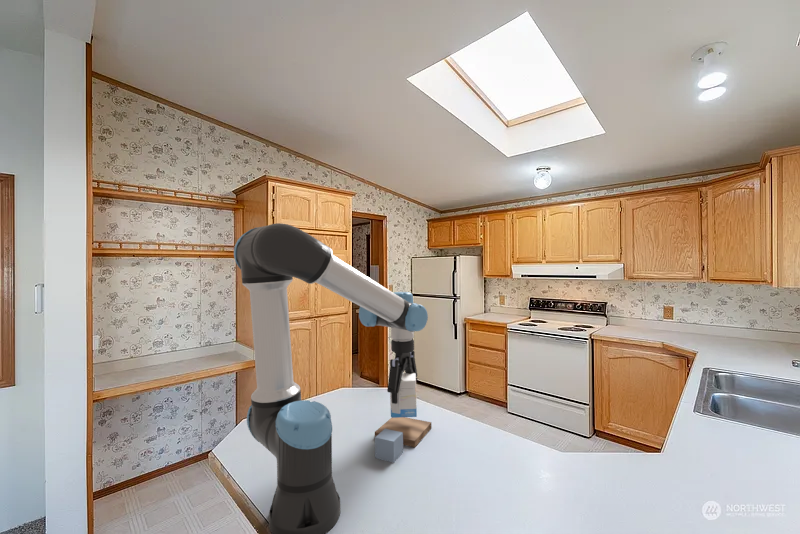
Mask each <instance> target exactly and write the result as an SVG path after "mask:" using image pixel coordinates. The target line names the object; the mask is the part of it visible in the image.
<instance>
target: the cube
mask: <svg viewBox="0 0 800 534" xmlns="http://www.w3.org/2000/svg"><path fill="white" fill-rule="evenodd" d="M403 454H404V445H403V432H399V431H394V430H389V429H384V430H383V431H382V432H380V433H379V434H378V435H377V436H376V437H375V436H374V458H375V459H377V460H382V461H386V462H389V463H395V462H396V461H397V460H398V459H399V458H400V456H401V455H403Z"/></svg>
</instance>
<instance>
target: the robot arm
mask: <svg viewBox="0 0 800 534" xmlns="http://www.w3.org/2000/svg"><path fill="white" fill-rule="evenodd" d="M233 257H234V260H235V261H234V262H235V264H236V266H237V267H238V268H239V269H240V273H241V284H242V286H244V287H245V288H246V290H248V291H249V300H250V311H251V324H252V325H251V326H252V327H251V328H252V336H253V337H252V339H253V349H254V350H253V351H254V352H253V354H254V364H255V377H256V378H255V379H256V380H255V381H256V389H255V390H254V391H253V392H252V393H251V396H250V401H251V403H250V404H251V405H250V406H249V407H248V410H247V414H246V425H247V428H248V431H249V433H250V434H251V436H252V437H253V438H254V439H255V440H256V442H258V443H260V444H261V445H262V446H263V447H265V448H266V450H268V451H269V452H270V454H272V455H273V456H274V457H275V458H276V484H277V485H276V488H275V491H274V495H273V498H272V501H271V505H270V507H269V513H268V527H269V531H270V532H271V534H326V533H327V532H328V531H330V530H331V529H332V528H333V527H334V526H335V525H336V523H337V522H338V520H339V519H340V516H341V499H340V494H339V492H338V491H337V488H336V485H335V481H334V478H333V457H332V456H333V445H332V444H333V443H332V442H333V439H332V438H333V437H332V436H333V434H332V433H333V423H332V415H331V412H330V410H329V408H328V407H327V405H326V406H325V404H322V403H321V402H318V401H315V400H313V401H310V400H307V399H306V400H304V399H303V400H302V394H301V391H302V390H301V389H302V388H301V386H300V385H299V384H298V383H297V382H295V381H294V371H293V368H294V367H293V356H292V355H293V353H292V343H291V341H292V340H291V326H290V325H291V324H290V314H289V297H288V286H289V285H290V284H291V283H292V282H293V281H294V280H293V278H295V279H299V280H301V281H303V282H305V283H306V284H307V285H308V284H309V285H312V284H318V285H320V286H322V287H324V288H326V289H328V290H329V291H331V292H332V293H335V294H337V295H338V296H340V297H342V298H344V299H346V300H348V301H349V302H351V303H353V304H355V305H357V306H359V309H358V319H359V321H360V323H361V324H362V325H363V326H365V327H367V328H369V327H373V328H374V327H376V326H381V327H386V328H390V338H391V342H390V344H391V346H390V347H391V348H390V349H391V351H392V352H393V353H394V355H395V356H394V359H389V372H388V373H389V374H388V383H387V390H386V391H387V393H389V394H390V393H391V402H392V413H397V414H400V392H399V387H400V383H401V378H402V373H410V374H412V373H416V382H417V381H418V369H417V364H416V359H415V340H414V337H415V333H416V332H420V331H422V330H423V329H425V327H426V326H427V323H428V318H429V315H428V314H429V313H428V311H427V309H426V307H425V306H424V305H422V304H420V303H415V302H414V297H413V293H411V292H409V291H395V292H393V291H391V290H390V289H388V288H386V287H385V286H383V285H382V284H380V283H378V282H377V281H376V280H374V279H372V278H371V277H369V276H367V275H365V274H364V273H363V272H361V271H359V270H358V269H356V268H355V267H353V266H351V265H350V264H349V263H346V262H345V261H344V260H342V259H340V258H339V257H338V256H336V255H334V254H333V249H332V248H331V247H330V246H328V245H327V244H325V243H323V242H322V241H320V240H318V239H317V238H316V237H314V236H312V235H310V234H309V233H308V232H305V231H304V230H302V229H300V228H298V227H296V226H294V225H291V224H287V223H282V222H281V223H278V222H277V223H276V222H275V223H271V224H268V225H263V226H259V227H254V228H251V229H248V230H247V231H246V232H245V233H243V234H242V235H241V236H240V237H239V238H238V239H237V241H236V243H235V245H234V248H233Z"/></svg>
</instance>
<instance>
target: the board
mask: <svg viewBox="0 0 800 534" xmlns="http://www.w3.org/2000/svg"><path fill="white" fill-rule="evenodd" d="M384 429H389V430H394V431H399V432H403V446H407V447H410V448H416V447H417V446H418V445H419V443H420V442H421V441H422V440H423V439H424V438H425V437H426V435H427V434H428V433H429V432H430V431H431V429H432V421H426V420H422V419H416V418H413V417H397V418H391V417H390V419H388V420H387V421H386V422H385V423H384V424H381V426H380V427H379V428H378V429H376V430H375V431H374V438H375V437H376V436H377V435H378V434H379V433H380V432H382V431H383V430H384Z"/></svg>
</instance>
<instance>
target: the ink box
mask: <svg viewBox="0 0 800 534" xmlns="http://www.w3.org/2000/svg"><path fill="white" fill-rule="evenodd" d="M416 378H417V377H416V373H412V374H410V373H405V372H403V373H402V378H401V383H400V387H399V392H400V414H397V413H392V402H391V393H390V392H389V395H390V397H389V398H390V399H389V400H390V419H391V418H397V417H406V418H417V416H418V415H417V412H418V411H417V407H418V405H417V381H416Z"/></svg>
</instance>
